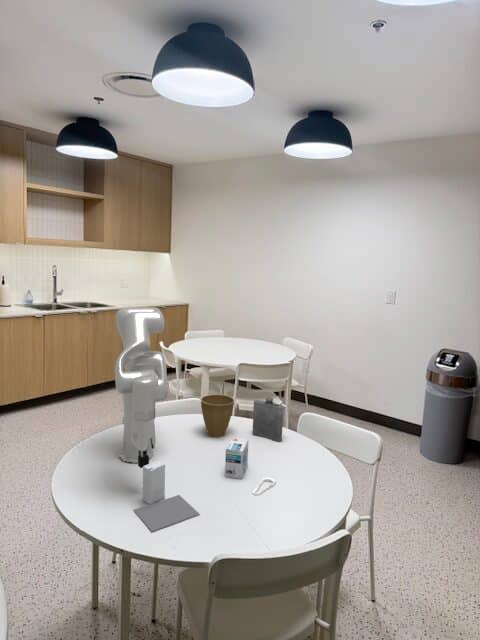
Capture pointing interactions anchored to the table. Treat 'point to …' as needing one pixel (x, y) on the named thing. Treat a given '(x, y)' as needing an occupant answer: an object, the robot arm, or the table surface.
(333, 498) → the table surface
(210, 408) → the plant pot
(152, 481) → the skincare box
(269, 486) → the stepped key frame
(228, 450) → the light bulb box
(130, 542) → the table surface
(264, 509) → the table surface
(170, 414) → the table surface
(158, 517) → the mat
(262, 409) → the flask
